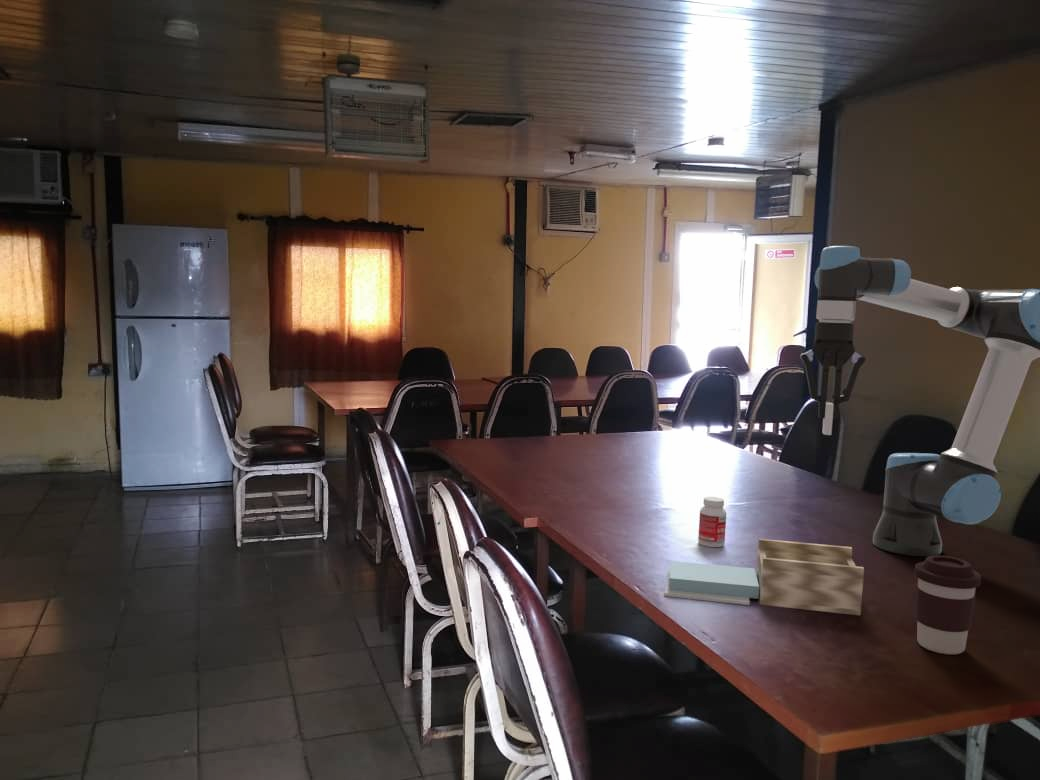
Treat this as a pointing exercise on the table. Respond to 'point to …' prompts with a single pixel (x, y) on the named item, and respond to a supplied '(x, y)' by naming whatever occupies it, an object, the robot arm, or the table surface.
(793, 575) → the box
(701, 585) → the lid
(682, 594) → the mat
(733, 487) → the table surface
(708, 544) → the pill bottle
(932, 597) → the coffee cup
